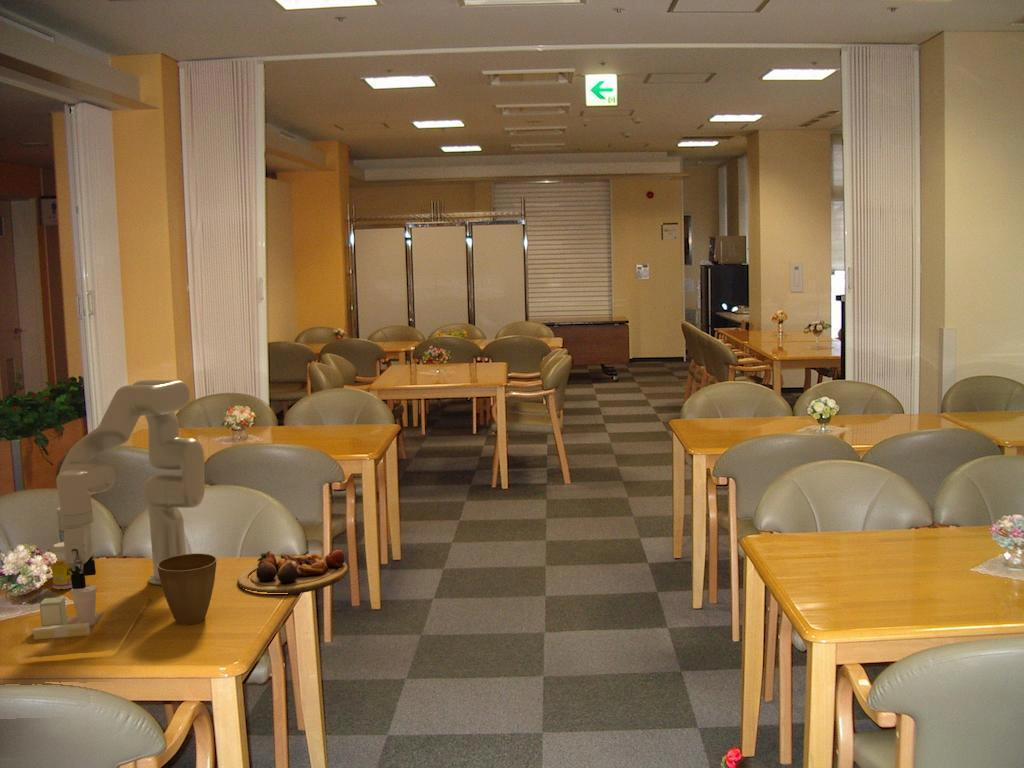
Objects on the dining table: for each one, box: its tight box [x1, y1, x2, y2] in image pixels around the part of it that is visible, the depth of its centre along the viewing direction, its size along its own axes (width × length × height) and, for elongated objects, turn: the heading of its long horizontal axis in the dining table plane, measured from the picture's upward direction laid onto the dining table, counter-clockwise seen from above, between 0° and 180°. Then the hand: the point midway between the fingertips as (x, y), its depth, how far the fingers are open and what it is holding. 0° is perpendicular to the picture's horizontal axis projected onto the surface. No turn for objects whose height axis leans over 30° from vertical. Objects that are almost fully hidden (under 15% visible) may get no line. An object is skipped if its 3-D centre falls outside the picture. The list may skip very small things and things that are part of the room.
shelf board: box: [33, 612, 105, 641], centre depth 263 cm, size 13×16×1 cm
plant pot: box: [157, 553, 218, 625], centre depth 266 cm, size 15×15×16 cm
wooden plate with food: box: [237, 549, 349, 595], centre depth 299 cm, size 32×32×8 cm
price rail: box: [32, 623, 91, 640], centre depth 256 cm, size 13×2×4 cm, turn 98°
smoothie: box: [70, 584, 98, 626], centre depth 263 cm, size 6×6×14 cm
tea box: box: [39, 596, 67, 627], centre depth 262 cm, size 5×4×7 cm
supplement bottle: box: [51, 542, 73, 590], centre depth 297 cm, size 7×7×13 cm
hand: (84, 581), depth 263 cm, fingers open, 9 cm apart
